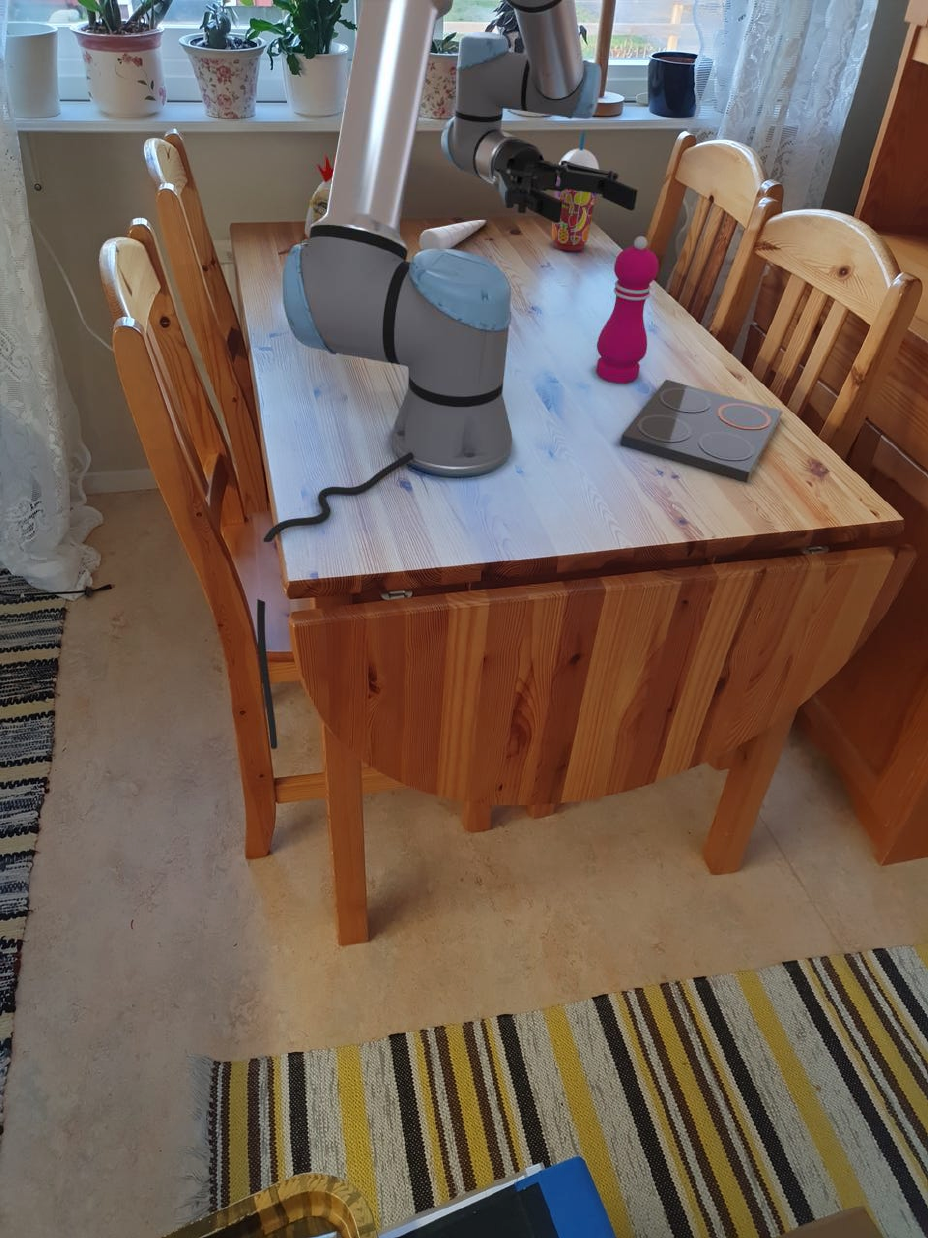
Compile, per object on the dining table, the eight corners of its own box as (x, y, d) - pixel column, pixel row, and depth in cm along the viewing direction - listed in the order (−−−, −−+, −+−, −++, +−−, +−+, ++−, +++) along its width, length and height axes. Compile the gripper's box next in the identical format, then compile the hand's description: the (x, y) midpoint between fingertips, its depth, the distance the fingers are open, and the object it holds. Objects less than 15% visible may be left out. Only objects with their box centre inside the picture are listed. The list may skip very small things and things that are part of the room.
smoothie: (540, 239, 180) (553, 126, 167) (579, 237, 182) (595, 125, 169) (556, 254, 174) (570, 138, 161) (596, 252, 176) (614, 138, 163)
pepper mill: (583, 366, 138) (605, 229, 125) (624, 360, 141) (649, 225, 128) (608, 388, 134) (633, 247, 121) (650, 381, 136) (679, 243, 123)
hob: (746, 482, 116) (750, 471, 115) (619, 444, 121) (622, 434, 120) (779, 420, 129) (782, 410, 128) (663, 388, 135) (666, 378, 134)
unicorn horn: (502, 227, 184) (504, 202, 181) (439, 261, 168) (440, 234, 165) (482, 222, 185) (483, 197, 182) (417, 255, 170) (417, 228, 166)
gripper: (571, 181, 150) (658, 222, 137) (441, 199, 139) (522, 245, 126) (577, 130, 145) (668, 168, 132) (443, 145, 134) (528, 187, 121)
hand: (597, 206), depth 129 cm, fingers open, 13 cm apart
